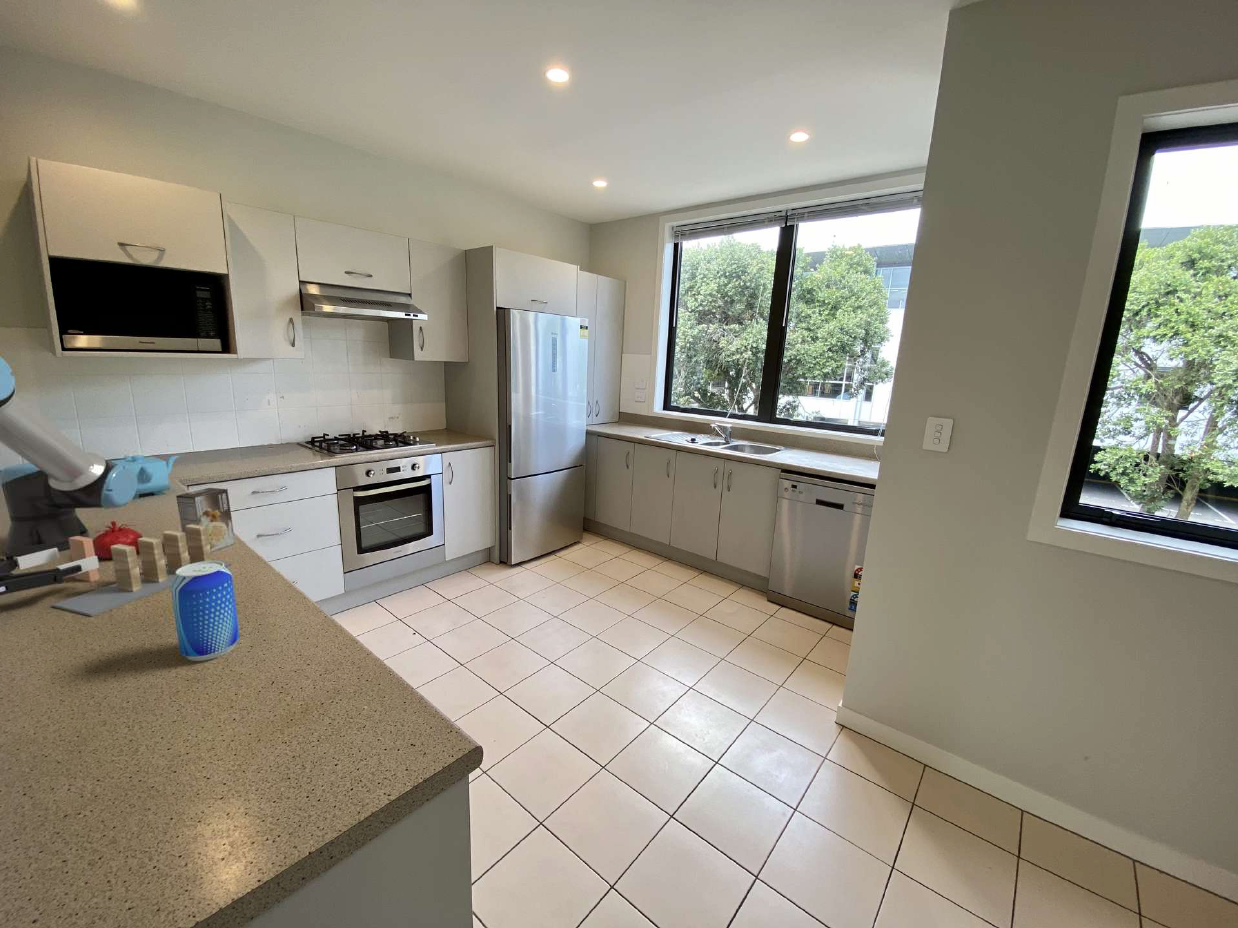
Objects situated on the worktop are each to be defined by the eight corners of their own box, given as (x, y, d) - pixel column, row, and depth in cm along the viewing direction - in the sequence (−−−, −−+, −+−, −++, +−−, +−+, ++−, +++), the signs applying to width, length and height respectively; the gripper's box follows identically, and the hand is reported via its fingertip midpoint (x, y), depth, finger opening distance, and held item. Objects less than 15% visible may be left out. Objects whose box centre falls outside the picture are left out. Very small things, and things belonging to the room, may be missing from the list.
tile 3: (159, 582, 115) (153, 541, 113) (144, 579, 116) (137, 539, 114) (167, 580, 116) (161, 539, 114) (152, 576, 118) (145, 536, 116)
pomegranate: (113, 565, 125) (106, 530, 123) (82, 560, 127) (75, 525, 125) (156, 550, 135) (151, 517, 132) (127, 545, 136) (121, 513, 134)
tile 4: (183, 574, 119) (177, 534, 117) (168, 571, 121) (162, 532, 119) (190, 571, 121) (185, 532, 119) (175, 568, 122) (169, 530, 120)
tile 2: (133, 592, 110) (126, 549, 108) (117, 588, 111) (110, 546, 109) (142, 589, 111) (135, 546, 109) (126, 585, 113) (119, 543, 111)
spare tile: (90, 581, 115) (82, 540, 113) (76, 578, 117) (68, 538, 115) (99, 578, 117) (91, 538, 115) (84, 575, 118) (77, 535, 116)
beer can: (192, 669, 85) (179, 582, 82) (173, 653, 89) (160, 569, 86) (248, 647, 92) (239, 565, 89) (228, 633, 96) (218, 555, 93)
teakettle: (155, 500, 179) (149, 460, 176) (92, 501, 174) (85, 460, 172) (187, 487, 197) (182, 450, 194) (130, 488, 193) (124, 450, 190)
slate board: (52, 606, 104) (52, 604, 104) (197, 558, 130) (196, 556, 130) (91, 616, 100) (91, 614, 100) (231, 564, 127) (231, 562, 127)
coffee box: (217, 541, 142) (210, 486, 139) (236, 543, 141) (229, 488, 138) (183, 552, 133) (175, 494, 130) (203, 555, 132) (195, 497, 129)
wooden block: (205, 566, 124) (200, 528, 122) (190, 563, 125) (185, 525, 123) (212, 564, 126) (207, 526, 124) (197, 561, 127) (192, 524, 125)
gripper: (-103, 605, 98) (44, 565, 118) (-25, 627, 92) (117, 580, 112) (-112, 569, 97) (38, 535, 117) (-34, 589, 90) (111, 549, 110)
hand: (77, 557), depth 114 cm, fingers open, 13 cm apart
